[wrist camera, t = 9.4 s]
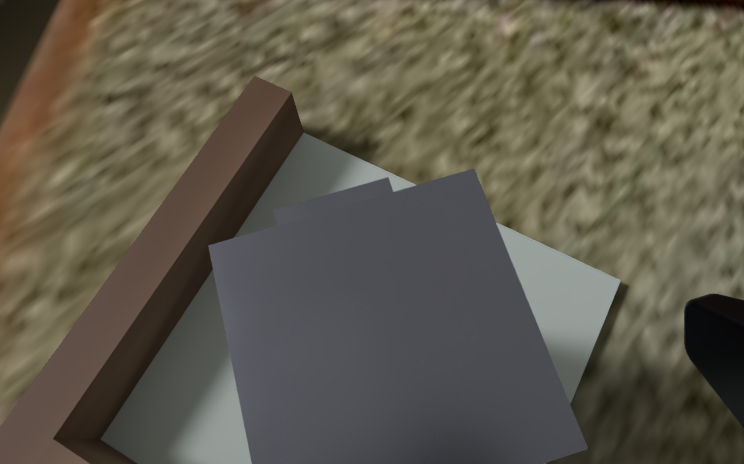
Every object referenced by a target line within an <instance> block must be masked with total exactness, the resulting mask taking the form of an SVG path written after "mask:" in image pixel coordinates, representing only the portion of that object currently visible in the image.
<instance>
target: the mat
mask: <svg viewBox="0 0 744 464" xmlns="http://www.w3.org/2000/svg"><path fill="white" fill-rule="evenodd" d="M387 177H388V178H389V180H390V183H391V186H392V189H393V192H395V191H399V190H402V189H406V188H409V187H413V186H416V185H415V184H413V183H411V182H409V181H407V180H404V179H402V178H400V177H398V176H396V175H394V174H392V173H389V172H387V171H385V170H383V169H381V168H379V167H377V166H374V165H372V164H370V163H368V162H366V161H364V160H362V159H359V158H357V157H355V156H353V155H351V154H349V153H347V152H344V151H342V150H340V149H338V148H336V147H334V146H332V145H329V144H327V143H325V142H323V141H321V140H319V139H317V138H314V137H312V136H310V135H308V134H306V133H303V134H302V136H301V137H300V139H299V140H298V142H297V143H296V145H295V146H294V148H293V149H292V151H291V152H290V154H289V155H288V157H287V158H286V160H285V161H284V163H283V164H282V166H281V167H280V169H279V170H278V172H277V174H276V175H275V177H274V178H273V180H272V181H271V183H270V184H269V186H268V187H267V189H266V190H265V192H264V193H263V195H262V196H261V198H260V199H259V201H258V202H257V204H256V205H255V207H254V208H253V210H252V211H251V213H250V214H249V216H248V217H247V219H246V220H245V222H244V223H243V225H242V226H241V228H240V229H239V231H238V232H237V234H236V235H235V237H234V238H236V237H239V236H243V235H246V234H250V233H253V232H257V231H260V230H263V229H267V228H270V227H274V226H277V222H276V219H275V215H274V211H273V210H275V209H279V208H282V207H286V206H289V205H293V204H296V203H299V202H303V201H306V200H310V199H313V198H317V197H320V196H324V195H327V194H331V193H334V192H338V191H341V190H345V189H348V188H352V187H355V186H359V185H362V184H366V183H369V182H373V181H376V180H380V179H383V178H387ZM496 224H497V226H498V229H499V231H500V234H501V236H502V239H503V241H504V243H505V246H506V248H507V251H508V253H509V256H510V258H511V261H512V263H513V266H514V268H515V270H516V273H517V275H518V278H519V280H520V283H521V285H522V288H523V290H524V292H525V295H526V297H527V300H528V302H529V305H530V307H531V310H532V312H533V315H534V317H535V319H536V322H537V324H538V327H539V329H540V332H541V334H542V337H543V339H544V341H545V344H546V346H547V349H548V351H549V354H550V356H551V359H552V361H553V364H554V366H555V368H556V371H557V373H558V376H559V378H560V381H561V383H562V386H563V388H564V390H565V393H566V395H567V398H568V400H569V403H570V404H571V402H572V399H573V397H574V394H575V392H576V389H577V387H578V384H579V382H580V380H581V377H582V375H583V372H584V370H585V367H586V365H587V362H588V360H589V357H590V355H591V353H592V350H593V348H594V345H595V343H596V340H597V338H598V335H599V333H600V330H601V328H602V326H603V323H604V321H605V318H606V316H607V313H608V311H609V308H610V306H611V303H612V301H613V299H614V296H615V294H616V291H617V289H618V286H619V284H620V281H621V280H619V279H617V278H614V277H612V276H610V275H608V274H606V273H604V272H602V271H599V270H597V269H595V268H593V267H591V266H589V265H587V264H584V263H582V262H580V261H578V260H576V259H574V258H572V257H569V256H567V255H565V254H563V253H561V252H559V251H557V250H554V249H552V248H550V247H548V246H546V245H544V244H542V243H539V242H537V241H535V240H533V239H531V238H529V237H527V236H524V235H522V234H520V233H518V232H516V231H514V230H512V229H509V228H507V227H505V226H503V225H501V224H499V223H497V222H496ZM101 440H102V441H104V442H105V443H107V444H108V445H110V446H111V447H113V448H115V449H116V450H118V451H119V452H121V453H122V454H124V455H125V456H127V457H128V458H130V459H131V460H133V461H134V462H136V463H137V464H252V462H251V457H250V452H249V447H248V442H247V437H246V432H245V427H244V422H243V417H242V412H241V407H240V402H239V397H238V392H237V387H236V382H235V377H234V372H233V367H232V362H231V357H230V352H229V347H228V342H227V337H226V332H225V327H224V322H223V317H222V312H221V307H220V302H219V297H218V292H217V287H216V282H215V277H214V272H213V270H212V272H211V273H210V275H209V276H208V278H207V279H206V281H205V282H204V284H203V285H202V287H201V288H200V290H199V291H198V293H197V294H196V296H195V297H194V299H193V300H192V302H191V303H190V305H189V306H188V308H187V309H186V311H185V312H184V314H183V315H182V317H181V318H180V320H179V321H178V323H177V324H176V326H175V328H174V329H173V331H172V332H171V334H170V335H169V337H168V338H167V340H166V341H165V343H164V344H163V346H162V347H161V349H160V350H159V352H158V353H157V355H156V356H155V358H154V359H153V361H152V362H151V364H150V365H149V367H148V368H147V370H146V371H145V373H144V374H143V376H142V377H141V379H140V380H139V382H138V383H137V385H136V386H135V388H134V389H133V391H132V392H131V394H130V395H129V397H128V398H127V400H126V401H125V403H124V405H123V406H122V408H121V409H120V411H119V412H118V414H117V415H116V417H115V418H114V420H113V421H112V423H111V424H110V426H109V427H108V429H107V430H106V432H105V433H104V435H103V436H102V438H101ZM544 464H546V463H544Z"/></svg>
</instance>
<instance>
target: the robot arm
mask: <svg viewBox="0 0 744 464" xmlns="http://www.w3.org/2000/svg"><path fill="white" fill-rule="evenodd" d="M684 344H685V349H686V352H687V355H688V356H689V358H690V360H691V361H692V363H693V364H694V365H695V366H696V368H697V369H698V370H699V371H700V373H701V374H702V375H703V377H704V378H705V379H706V380H707V382H708V383H709V384H710V385H711V387H712V388H713V389H714V391H715V392H716V393H717V394H718V396H719V397H720V398H721V399H722V401H723V402H724V403H725V405H726V406H727V407H728V408H729V410H730V411H731V412H732V413H733V415H734V416H735V417H736V419H737V420H738V421H739V422H740V424H741V425H742V426H743V427H744V300H741V299H736V298H732V297H728V296H724V295H719V294H708V295H705V296H701V297H698V298H695V299H692V300H690V301H688V302H687V303H686V305H685V309H684Z"/></svg>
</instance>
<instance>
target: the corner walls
mask: <svg viewBox="0 0 744 464" xmlns="http://www.w3.org/2000/svg"><path fill="white" fill-rule="evenodd" d="M303 133H304V132H303V129H302V125H301V122H300V119H299V116H298V112H297V109H296V106H295V102H294V99H293V96H292V92H289V91H287V90H285V89H283V88H281V87H278V86H276V85H274V84H272V83H269V82H267V81H265V80H263V79H261V78H258V77H256V76H254V77H253V78H252V80H251V81H250V83H249V84H248V85H247V87H246V88H245V90H244V91H243V92H242V94H241V95H240V96H239V98H238V99H237V101H236V102H235V103H234V105H233V106H232V108H231V109H230V110H229V112H228V113H227V114H226V116H225V117H224V119H223V120H222V121H221V123H220V124H219V126H218V127H217V128H216V130H215V131H214V132H213V134H212V135H211V137H210V138H209V139H208V141H207V142H206V143H205V145H204V146H203V148H202V149H201V150H200V152H199V153H198V155H197V156H196V157H195V159H194V160H193V161H192V163H191V164H190V166H189V167H188V168H187V170H186V171H185V173H184V174H183V175H182V177H181V178H180V179H179V181H178V182H177V184H176V185H175V186H174V188H173V189H172V190H171V192H170V193H169V195H168V196H167V197H166V199H165V200H164V202H163V203H162V204H161V206H160V207H159V208H158V210H157V211H156V213H155V214H154V215H153V217H152V218H151V220H150V221H149V222H148V224H147V225H146V226H145V228H144V229H143V231H142V232H141V233H140V235H139V236H138V237H137V239H136V240H135V242H134V243H133V244H132V246H131V247H130V249H129V250H128V251H127V253H126V254H125V255H124V257H123V258H122V260H121V261H120V262H119V264H118V265H117V267H116V268H115V269H114V271H113V272H112V273H111V275H110V276H109V278H108V279H107V280H106V282H105V283H104V284H103V286H102V287H101V289H100V290H99V291H98V293H97V294H96V296H95V297H94V298H93V300H92V301H91V302H90V304H89V305H88V307H87V308H86V309H85V311H84V312H83V314H82V315H81V316H80V318H79V319H78V320H77V322H76V323H75V325H74V326H73V327H72V329H71V330H70V332H69V333H68V334H67V336H66V337H65V338H64V340H63V341H62V343H61V344H60V345H59V347H58V348H57V349H56V351H55V352H54V354H53V355H52V356H51V358H50V359H49V361H48V362H47V363H46V365H45V366H44V367H43V369H42V370H41V372H40V373H39V374H38V376H37V377H36V379H35V380H34V381H33V383H32V384H31V385H30V387H29V388H28V390H27V391H26V392H25V394H24V395H23V396H22V398H21V399H20V401H19V402H18V403H17V405H16V406H15V408H14V409H13V410H12V412H11V413H10V414H9V416H8V417H7V419H6V420H5V421H4V423H3V424H2V426H1V427H0V464H137V463H136V462H134V461H133V460H131V459H130V458H128V457H127V456H125V455H124V454H122V453H121V452H119V451H118V450H116V449H115V448H113V447H111V446H110V445H108V444H107V443H105V442H104V441H102V440H101V438H102V436H103V435H104V433H105V432H106V430H107V429H108V427H109V426H110V424H111V423H112V421H113V420H114V418H115V417H116V415H117V414H118V412H119V411H120V409H121V408H122V406H123V405H124V403H125V401H126V400H127V398H128V397H129V395H130V394H131V392H132V391H133V389H134V388H135V386H136V385H137V383H138V382H139V380H140V379H141V377H142V376H143V374H144V373H145V371H146V370H147V368H148V367H149V365H150V364H151V362H152V361H153V359H154V358H155V356H156V355H157V353H158V352H159V350H160V349H161V347H162V346H163V344H164V343H165V341H166V340H167V338H168V337H169V335H170V334H171V332H172V331H173V329H174V328H175V326H176V324H177V323H178V321H179V320H180V318H181V317H182V315H183V314H184V312H185V311H186V309H187V308H188V306H189V305H190V303H191V302H192V300H193V299H194V297H195V296H196V294H197V293H198V291H199V290H200V288H201V287H202V285H203V284H204V282H205V281H206V279H207V278H208V276H209V275H210V273H211V272H212V270H213V267H212V262H211V257H210V252H209V247H208V245H211V244H215V243H218V242H222V241H225V240H229V239H232V238H234V237H235V235H236V234H237V232H238V231H239V229H240V228H241V226H242V225H243V223H244V222H245V220H246V219H247V217H248V216H249V214H250V213H251V211H252V210H253V208H254V207H255V205H256V204H257V202H258V201H259V199H260V198H261V196H262V195H263V193H264V192H265V190H266V189H267V187H268V186H269V184H270V183H271V181H272V180H273V178H274V177H275V175H276V174H277V172H278V170H279V169H280V167H281V166H282V164H283V163H284V161H285V160H286V158H287V157H288V155H289V154H290V152H291V151H292V149H293V148H294V146H295V145H296V143H297V142H298V140H299V139H300V137H301V136H302V134H303Z"/></svg>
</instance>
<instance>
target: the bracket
mask: <svg viewBox="0 0 744 464" xmlns="http://www.w3.org/2000/svg"><path fill="white" fill-rule="evenodd" d="M273 211H274V215H275V219H276V222H277V226H274V227H270V228H267V229H263V230H260V231H257V232H253V233H250V234H246V235H243V236H239V237H236V238H232V239H229V240H225V241H222V242H218V243H215V244H211V245H208V247H209V252H210V257H211V262H212V267H213V272H214V277H215V282H216V287H217V292H218V297H219V302H220V307H221V312H222V317H223V322H224V327H225V332H226V337H227V342H228V347H229V352H230V357H231V362H232V367H233V372H234V377H235V382H236V387H237V392H238V397H239V402H240V407H241V412H242V417H243V422H244V427H245V432H246V437H247V442H248V447H249V452H250V457H251V462H252V464H544V463H547V462H550V461H554V460H557V459H560V458H563V457H566V456H569V455H572V454H575V453H578V452H581V451H584V450H587V449H588V447H587V444H586V442H585V439H584V437H583V435H582V432H581V430H580V427H579V425H578V422H577V420H576V417H575V415H574V413H573V410H572V408H571V405H570V403H569V400H568V398H567V395H566V393H565V390H564V388H563V386H562V383H561V381H560V378H559V376H558V373H557V371H556V368H555V366H554V364H553V361H552V359H551V356H550V354H549V351H548V349H547V346H546V344H545V341H544V339H543V337H542V334H541V332H540V329H539V327H538V324H537V322H536V319H535V317H534V315H533V312H532V310H531V307H530V305H529V302H528V300H527V297H526V295H525V292H524V290H523V288H522V285H521V283H520V280H519V278H518V275H517V273H516V270H515V268H514V266H513V263H512V261H511V258H510V256H509V253H508V251H507V248H506V246H505V243H504V241H503V239H502V236H501V234H500V231H499V229H498V226H497V224H496V221H495V219H494V217H493V214H492V212H491V209H490V207H489V204H488V202H487V199H486V197H485V194H484V192H483V190H482V187H481V185H480V182H479V180H478V177H477V175H476V172H475V170H474V169H471V170H468V171H465V172H461V173H458V174H454V175H451V176H447V177H444V178H440V179H437V180H433V181H430V182H426V183H423V184H419V185H416V186H413V187H409V188H406V189H402V190H399V191H395V192H393V189H392V186H391V183H390V180H389V178H388V177H387V178H383V179H380V180H376V181H373V182H369V183H366V184H362V185H359V186H355V187H352V188H348V189H345V190H341V191H338V192H334V193H331V194H327V195H324V196H320V197H317V198H313V199H310V200H306V201H303V202H299V203H296V204H293V205H289V206H286V207H282V208H279V209H275V210H273Z"/></svg>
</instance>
